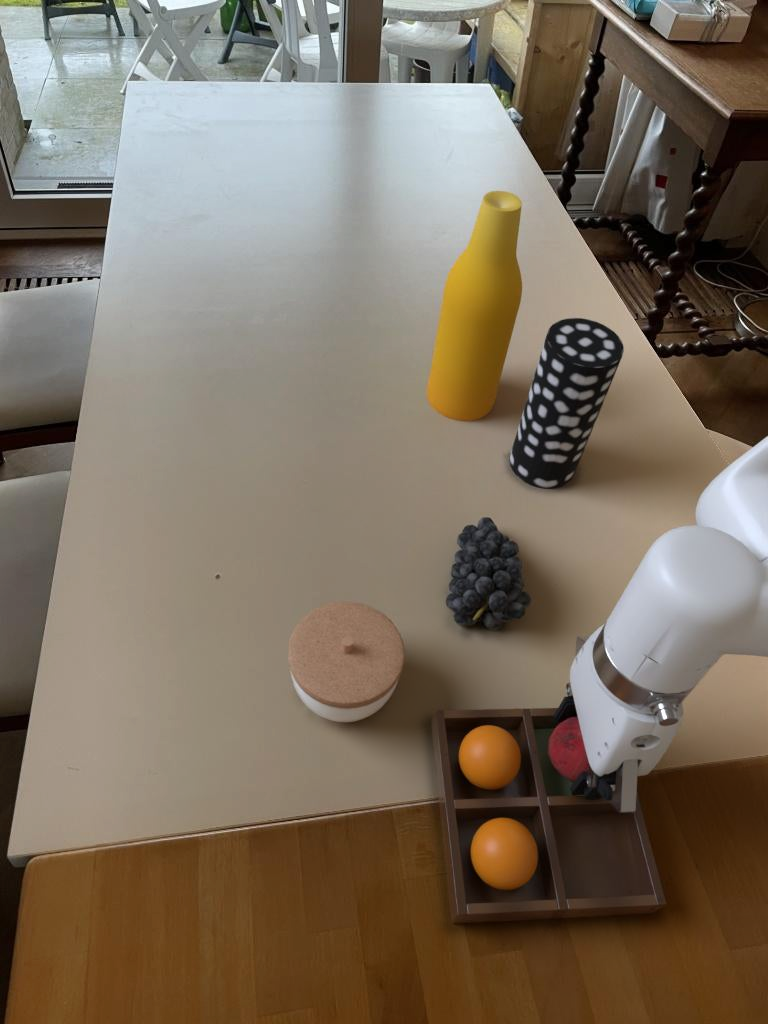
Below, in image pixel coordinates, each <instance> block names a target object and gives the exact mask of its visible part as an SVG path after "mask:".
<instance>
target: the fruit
mask: <svg viewBox="0 0 768 1024" xmlns="http://www.w3.org/2000/svg"><path fill="white" fill-rule="evenodd" d="M456 544H457V545H458V547H459V548H460V549H459V550H457V551H456V553H455V554H454V562H455V563H454V564H452V566H451V570H450V576H451V581H450V582H449V583H448V588H449V591H450V592H451V593H449V594H448V595H447V596H446V598H445V605H446V607H447V608H448V609H450V610H451V611H452V612H453V619H454V622H455V623H456V624H457V625H458V626H461V627H469V626H470V627H471V626H473V625H474V624H476V623H478V622H480V623H481V622H483V624H484V626H485V627H486V628H487V629H489V630H491V631H496V630H499V629H500V628H502V626H503V624H504V623H509V622H512V621H513V620H514V619H515V620H520V619H521V618H523V616H525V614H526V608H527V607H529V606H530V604H531V602H532V597H531V596H530V594H529V592H526V591H523V590H524V587H525V582H524V578H522V577H523V573H522V571H523V570H522V569H523V561H522V560H521V558H520V557H519V556H517V555H518V554H519V552H520V546H519V545H518V543H517V542H515V541H514V540H511V539H510V537H509V536H507V535H505V534H503V533H502V532H501V531H499V529H498V527H497V524H495V522H494V521H493V519H492V517H488V516H484V517H483V516H482V517H481V518H480V519H479V520H478V521H477V526H476V525H474V524H467V525H466V526H464V528H463V529H462V532H461V533H459V534H458V536H457V538H456Z"/></svg>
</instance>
